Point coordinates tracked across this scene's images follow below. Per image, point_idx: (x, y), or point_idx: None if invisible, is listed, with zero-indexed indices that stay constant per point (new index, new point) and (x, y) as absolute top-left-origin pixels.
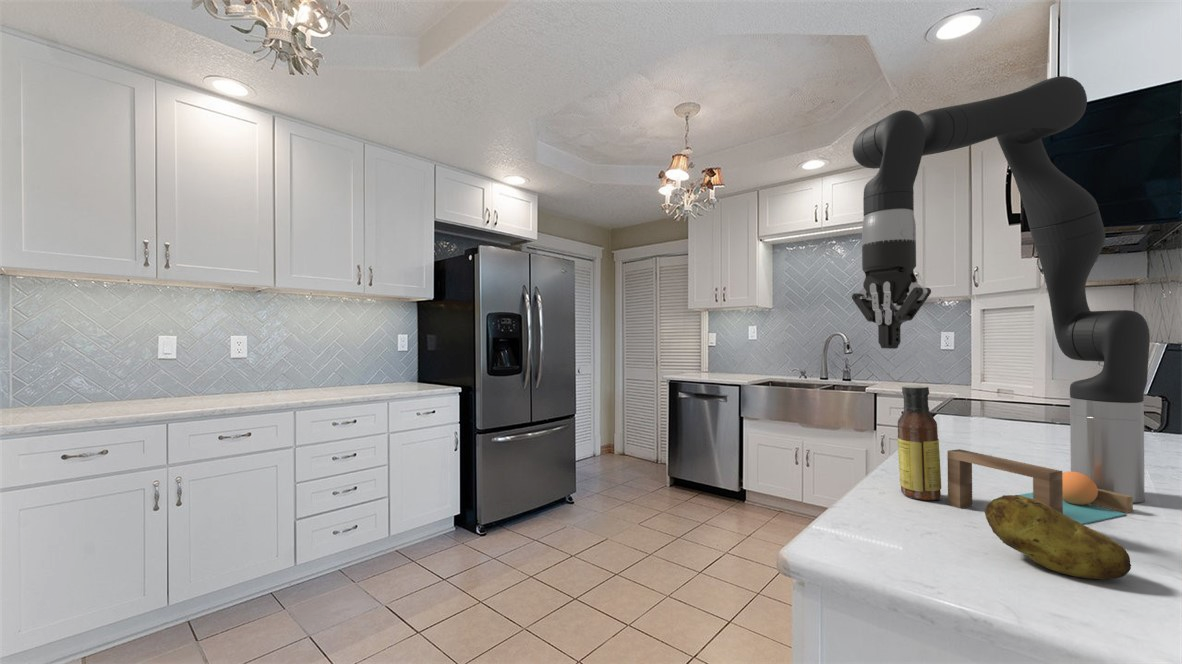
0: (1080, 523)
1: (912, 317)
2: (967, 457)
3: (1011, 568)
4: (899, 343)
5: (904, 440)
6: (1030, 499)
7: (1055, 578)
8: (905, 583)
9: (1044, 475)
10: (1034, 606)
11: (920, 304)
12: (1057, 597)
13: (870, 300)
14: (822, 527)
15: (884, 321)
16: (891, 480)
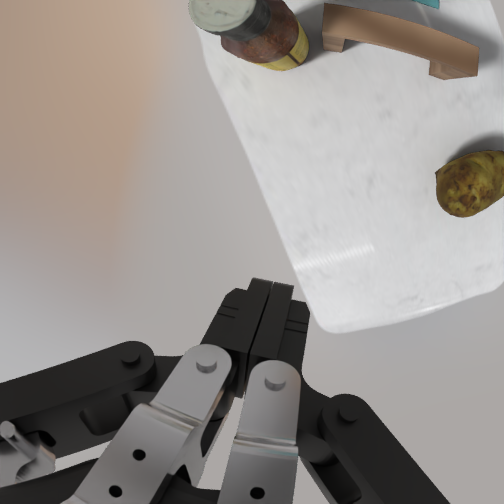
0: (438, 7)
1: (372, 418)
2: (360, 39)
3: None
4: (306, 307)
5: (256, 63)
6: (481, 189)
7: None
8: (401, 306)
9: (470, 74)
10: (468, 267)
11: (424, 493)
12: (478, 239)
13: (20, 423)
14: (298, 264)
15: (229, 408)
16: None
